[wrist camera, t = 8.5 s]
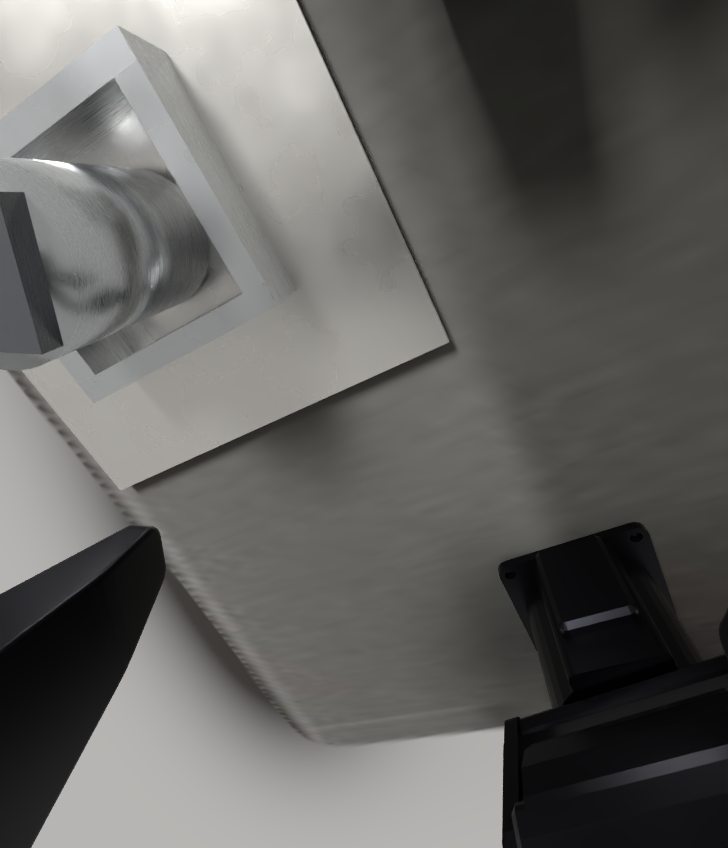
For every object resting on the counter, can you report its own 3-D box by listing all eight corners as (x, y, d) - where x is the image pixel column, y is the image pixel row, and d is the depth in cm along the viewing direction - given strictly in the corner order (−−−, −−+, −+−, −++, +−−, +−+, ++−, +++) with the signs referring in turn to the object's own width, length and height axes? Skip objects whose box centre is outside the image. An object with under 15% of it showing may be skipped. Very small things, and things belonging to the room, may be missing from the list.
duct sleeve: (200, 169, 16) (19, 150, 9) (216, 311, 18) (79, 386, 11) (68, 166, 16) (-202, 146, 9) (98, 305, 18) (-105, 374, 11)
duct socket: (448, 337, 18) (454, 365, 15) (127, 483, 22) (85, 526, 20) (202, -212, 12) (139, -331, 10) (-162, 128, 17) (-280, 115, 14)
